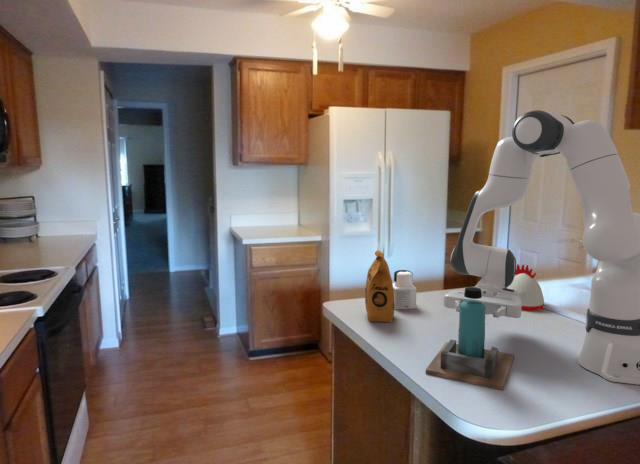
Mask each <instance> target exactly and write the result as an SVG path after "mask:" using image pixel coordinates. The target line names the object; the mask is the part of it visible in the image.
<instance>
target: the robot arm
mask: <svg viewBox="0 0 640 464" xmlns="http://www.w3.org/2000/svg"><path fill="white" fill-rule="evenodd" d="M511 131H512V132H511V135H512V136H507V137H504V138H502V139H500V140H499V141H497V144H496V146H495V149H494V151H493V155H492V157H491V161H490V166H489V171H488V178H487V180H486V183H485V184H484V186H483V187H482V188H481V189H479V190H476V191H475V193H474V194H473V196H472V198H471V200H470V203H469V206H468V208H467V211H466V214H465V217H464V219H463V222H462V226H461V229H460V232H459V234H458V238H457V241H456V243H455V246H454V247H453V249H452V252H451V255H450V265H451V267H452V268H453V270H454V271H455V272H456V273H457V274H458V275H465V276H466V275H467V276H474V277H479V278H481V279H480V280H478V282H477V284H475V286H474V287H476V288H480V289H481V294H482V297H481V298H479V299H474V300H479V301H481V302H482V303H483V304H484V305H485V306H486V309H485V315H492V317H493V318H497V319H499V318H500V317H506V318H507V317H508V318H514V319H519V318H521V316H522V310H521V307H522V301H521V298H520V297H519V292H518V291H515V290H511V289H507V287H508V286H509V285H511V284H512V282H513V280H514V277H515V276H516V275H515V272H516V270H517V260H516V259H517V258H516V256H515V255H514V253H513V252H512V251H511V250H510V249H508V248H505V247H499V246H489V245H484V244H479V243H475V242H474V237H475V234H476V230H477V228H478V225H479V222H480V219H481V218H482V216H483V215H485V213H487V212H490V211H494V210H499V209H503V208H508V207H510V206H513V205H516V204H518V203H520V202H521V201H522V200H523V199H524V198H525V196H526V195H527V193H528V188H529V185H530V184H529V183H530V179H531V173H532V166H533V163H534V161H535V160H536V159H537V158H538V157H540V158H544V157H549V156H554V155H559V154H561V155H562V156H563V157H564V159H565V162H566V163H567V166H568V170H569V172H570V175H571V178H572V180H573V183H574V186H575V189H576V192H577V195H578V198H579V201H580V205H581V213H582V220H583V235H582V242H581V243H582V247H583V248H584V251H585V252H586V253H587V254H588V256H589V257H591V258H592V259H594V260H596V261H599V262H598V265H597V267H596V270H595V273H594V274H593V277H592V279H591V284H590V285H591V286H590V297H589V308H587V310H586V314H585V323H584V324H585V325H584V326H585V331H586V332H585V337H584V341H583V345H582V347H581V350H580V353H579V356H578V357H577V362H578V364H579V365H580V366H581V367H583V368H584V369H586V370H588V371H589V372H592V373H594V374H597V375H599V376H600V377H602V378H604V379H605V380H606V381H609V382H614V383H623V384H630V385H638V386H639V385H640V213H637V212H633V208H632V202H631V193H630V189H631V183H630V180H629V177H628V175H627V173H626V170H625V167H624V164H623V163H622V160H621V157H620V155H619V153H618V150H617V148H616V146H615V144H614V142H613V139H612V138H611V136H610V135H609V132H608V131H607V130H606V128H605V127H604V126H603V124H602V123H601V122H599V121H597V120H593V119H587V120H586V119H585V120H580V121H578V122H576V123H575V122H574V121H573V120H572V119H571V118H570V117H568V116H566V115H563V114H559V113H556V112H555V111H550V110H549V111H547V110H546V111H545V110H539V109H536V110H530V111H527V112H525V113H523V114H522V115H520V116H519V117H518V118H517V119H516V120H515V122H514V123H513V127H512V130H511ZM464 293H465V290H451V291H448V292H447V293H445V294H444V296H443V306H444V307H445V308H447V309H453V310H455V312H456V313H457V312H458V313H460V303H462V302H463V301H464V300H467V299H471V298H467V297H465V296H464Z"/></svg>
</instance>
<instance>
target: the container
mask: <svg viewBox="0 0 640 464" xmlns="http://www.w3.org/2000/svg"><path fill="white" fill-rule="evenodd" d="M413 276H414V274H413V272H412V271H410V270H407V269H398V270H396V271H394V273H393V282H392V284H393V290H394V310H415V309H416V308H417V287H416V286H414V285H413Z"/></svg>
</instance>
